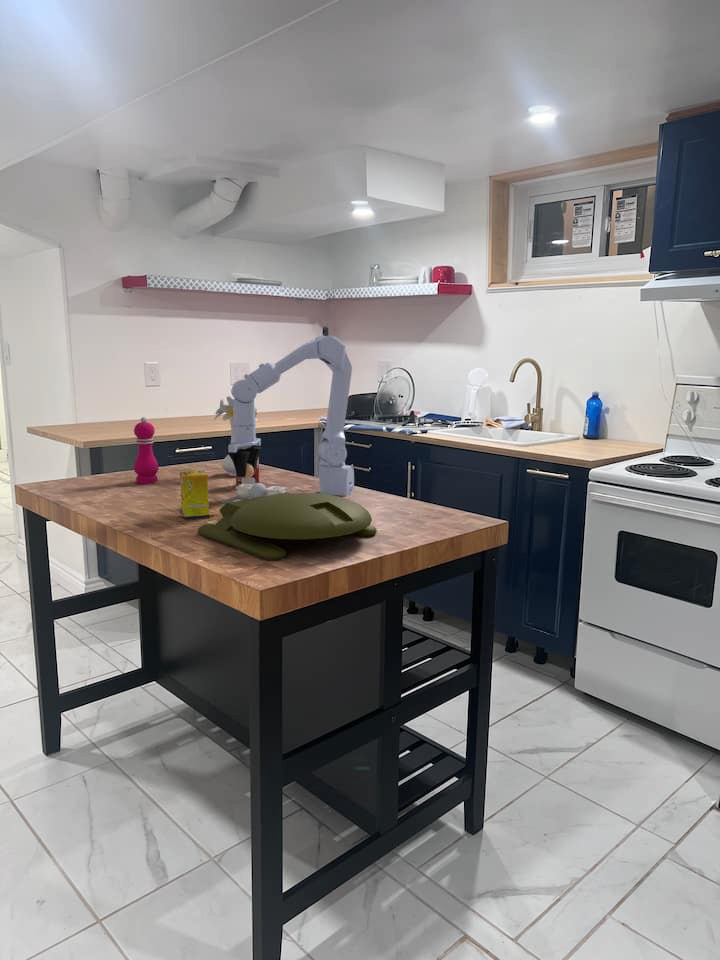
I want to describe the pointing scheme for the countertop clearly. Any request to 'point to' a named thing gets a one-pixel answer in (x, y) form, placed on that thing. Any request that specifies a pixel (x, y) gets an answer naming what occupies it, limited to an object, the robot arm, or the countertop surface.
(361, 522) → the spaceship
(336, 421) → the robot arm
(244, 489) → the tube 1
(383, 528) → the countertop surface
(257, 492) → the grey ball
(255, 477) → the soda can
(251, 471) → the terracotta ball
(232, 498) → the slate board
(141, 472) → the pepper mill
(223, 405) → the flower vase
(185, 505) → the supplement box
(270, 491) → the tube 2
